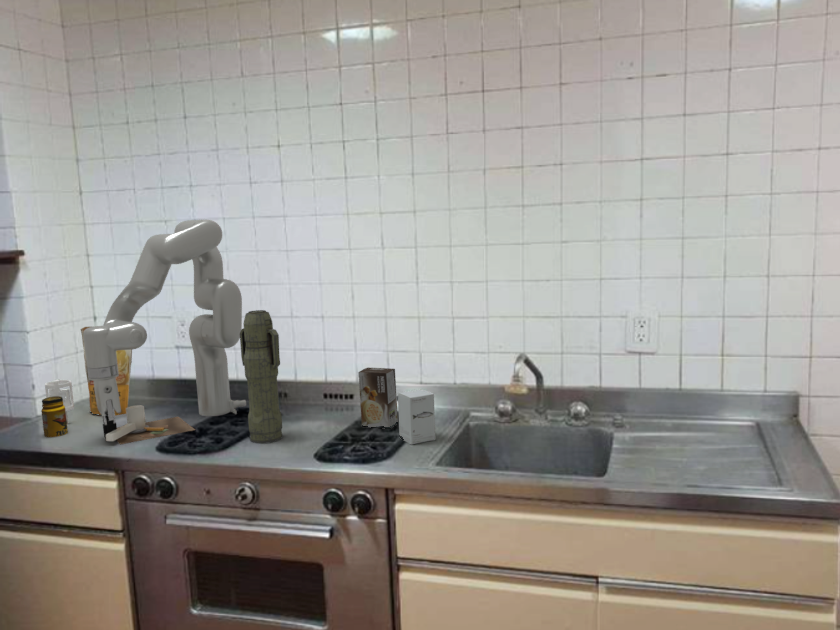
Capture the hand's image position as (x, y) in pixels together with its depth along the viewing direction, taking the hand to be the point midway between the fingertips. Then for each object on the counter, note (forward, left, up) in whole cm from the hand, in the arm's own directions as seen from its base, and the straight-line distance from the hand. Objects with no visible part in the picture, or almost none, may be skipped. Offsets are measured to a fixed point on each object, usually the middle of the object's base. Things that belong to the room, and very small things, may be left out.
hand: (111, 437), depth 193 cm
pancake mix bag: (-7, -36, -2) cm, 37 cm away
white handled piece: (-6, +1, 0) cm, 6 cm away
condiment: (+12, -17, -2) cm, 22 cm away
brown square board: (-11, -3, -2) cm, 12 cm away
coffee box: (-66, +33, -2) cm, 73 cm away
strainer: (+8, -29, -2) cm, 31 cm away
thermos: (-36, +23, -2) cm, 42 cm away
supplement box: (-67, +51, -2) cm, 84 cm away
